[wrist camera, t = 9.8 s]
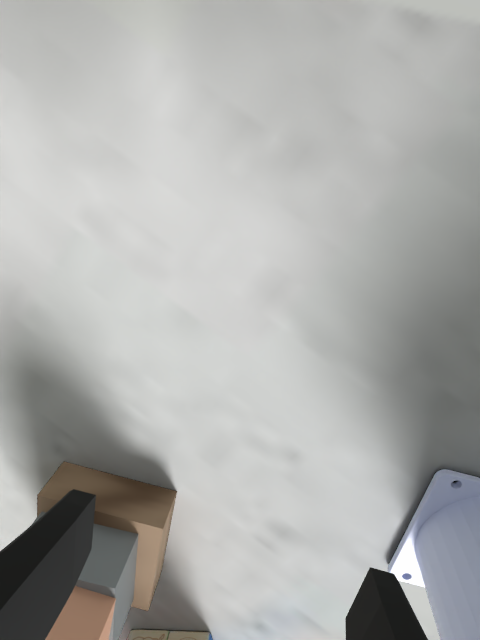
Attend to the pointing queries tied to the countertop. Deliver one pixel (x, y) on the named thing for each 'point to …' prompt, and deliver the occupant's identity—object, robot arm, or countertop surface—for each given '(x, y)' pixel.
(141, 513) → the walnut base block
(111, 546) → the gray top block
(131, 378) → the countertop surface
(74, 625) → the terracotta block
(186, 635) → the stack of blocks
